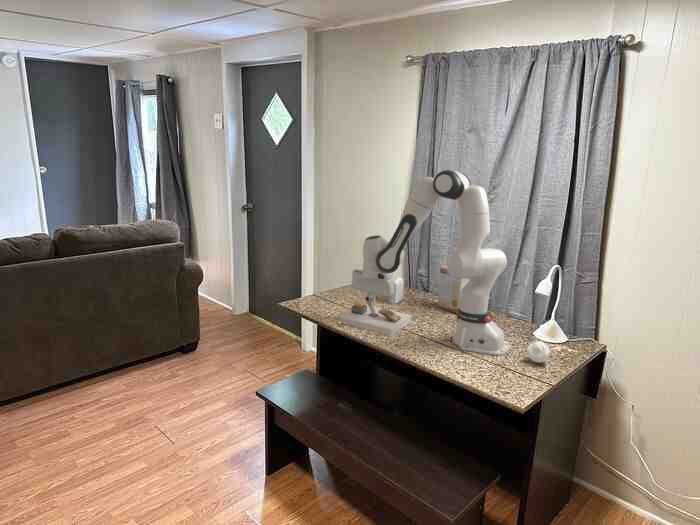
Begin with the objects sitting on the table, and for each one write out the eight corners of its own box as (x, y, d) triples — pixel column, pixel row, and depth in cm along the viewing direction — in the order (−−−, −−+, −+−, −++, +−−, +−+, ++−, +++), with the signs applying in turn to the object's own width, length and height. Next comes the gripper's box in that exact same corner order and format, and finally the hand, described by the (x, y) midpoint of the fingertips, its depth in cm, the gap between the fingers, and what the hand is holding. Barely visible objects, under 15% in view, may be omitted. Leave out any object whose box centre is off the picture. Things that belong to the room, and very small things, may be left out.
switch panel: (410, 321, 219) (411, 309, 217) (390, 336, 202) (391, 322, 201) (361, 310, 232) (361, 298, 230) (339, 322, 215) (339, 310, 214)
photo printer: (396, 297, 251) (397, 275, 247) (403, 299, 248) (405, 276, 245) (387, 303, 242) (388, 279, 239) (395, 305, 240) (396, 281, 237)
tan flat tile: (400, 319, 213) (401, 316, 212) (395, 322, 209) (396, 320, 208) (383, 309, 216) (384, 307, 216) (378, 312, 212) (379, 310, 212)
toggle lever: (376, 311, 217) (369, 295, 217) (374, 313, 215) (367, 296, 215) (372, 312, 218) (366, 296, 218) (370, 314, 216) (363, 297, 216)
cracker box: (466, 312, 231) (470, 270, 226) (458, 315, 228) (461, 272, 223) (445, 304, 243) (448, 264, 237) (437, 306, 239) (440, 265, 234)
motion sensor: (523, 361, 181) (525, 342, 180) (530, 355, 187) (532, 336, 185) (544, 368, 177) (547, 348, 175) (551, 361, 182) (554, 342, 180)
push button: (364, 307, 221) (364, 303, 220) (360, 309, 218) (360, 305, 217) (358, 305, 222) (358, 301, 222) (354, 307, 220) (354, 303, 219)
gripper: (348, 270, 215) (348, 299, 219) (389, 276, 205) (388, 307, 208) (356, 267, 220) (355, 295, 224) (396, 273, 210) (395, 303, 213)
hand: (372, 301), depth 216 cm, fingers closed
